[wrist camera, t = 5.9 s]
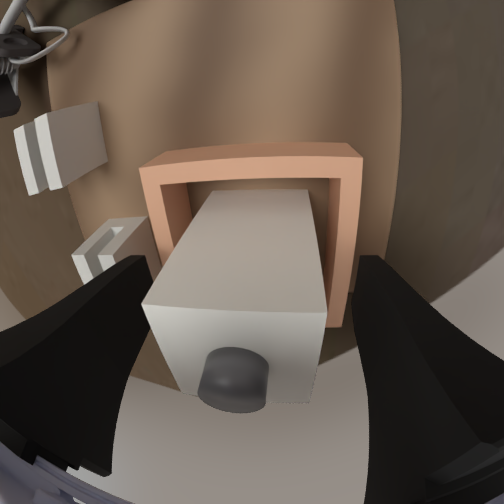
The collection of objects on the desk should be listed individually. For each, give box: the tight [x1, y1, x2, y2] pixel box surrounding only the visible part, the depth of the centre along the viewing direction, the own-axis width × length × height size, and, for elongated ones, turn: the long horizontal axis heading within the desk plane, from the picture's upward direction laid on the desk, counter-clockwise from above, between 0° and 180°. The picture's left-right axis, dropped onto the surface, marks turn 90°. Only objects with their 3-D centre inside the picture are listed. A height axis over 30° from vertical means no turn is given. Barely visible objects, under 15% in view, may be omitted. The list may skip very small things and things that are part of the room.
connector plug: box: [141, 189, 327, 413], centre depth 9 cm, size 4×4×8 cm
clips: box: [14, 101, 161, 285], centre depth 11 cm, size 4×9×3 cm, turn 4°
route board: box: [46, 0, 401, 292], centre depth 11 cm, size 16×15×1 cm
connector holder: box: [139, 142, 363, 327], centre depth 11 cm, size 7×7×2 cm
